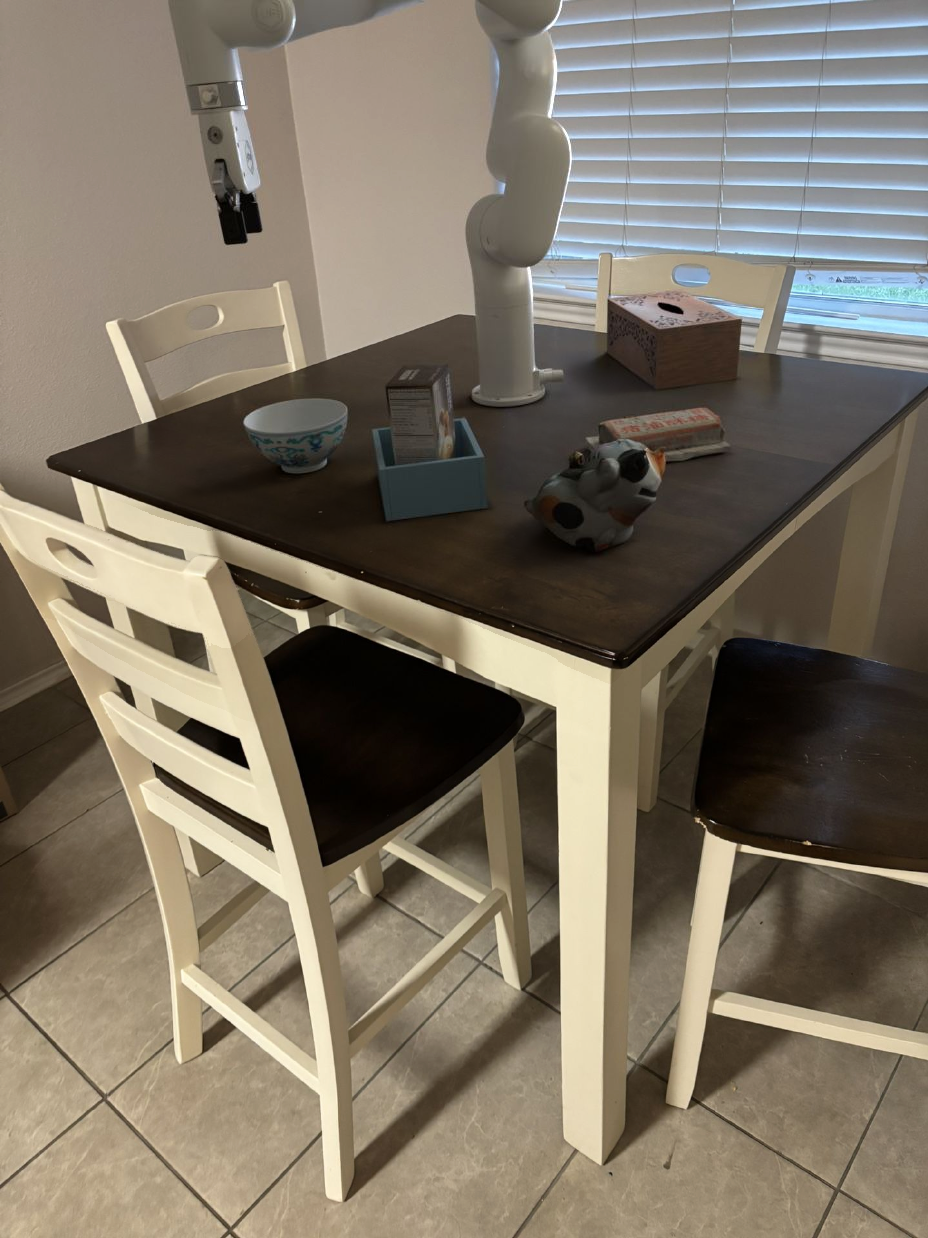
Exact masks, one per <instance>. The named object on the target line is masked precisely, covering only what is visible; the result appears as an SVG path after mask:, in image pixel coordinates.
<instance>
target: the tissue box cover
mask: <svg viewBox="0 0 928 1238" xmlns="http://www.w3.org/2000/svg"><path fill="white" fill-rule="evenodd" d="M606 300H607V301H606V303H607V304H606V305H607V307H606V308H607V309H606V312H607V313H606V314H607V316H606V317H607V318H606V331H607V332H606V353H607V354H608V355H610V356H611V357H612V358H614V359H615V360H617V361H618V362H619V363H620V364H621V365H623V366H624V367H625V368H627V369H629V371H631V372H632V373H633V374H635V376H638V377H639V378H640V379H642V380H643V381H645V382H646V383H647V384H648V385H650V386H651V388H653V389H654V390H656V391H658V390H665V389H672V388H679V387H687V386H688V387H689V386H694V385H701V384H703V385H704V384H709V383H716V382H725V381H731V380H732V381H733V380H737V379H738V373H739V372H738V369H739V361H740V360H739V358H740V348H741V347H740V346H741V334H742V324H743V318H742V317H739V316H737V315H735V314H732V313H730V312H728V311H726V310H725V309H722V308H720V307H718V306H716V305H714V304H712V303H710V302H708V301H706V300H703V299H701V298H699V297H697V296H695V295H693V294H690V293H688V292H686V291H684V290H682V289H676V290H675V289H674V290H666V291H659V292H651V293H643V294H642V293H641V294H635V295H625V296H617V297H610V298H607V299H606Z"/></svg>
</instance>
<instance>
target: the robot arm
mask: <svg viewBox="0 0 928 1238" xmlns="http://www.w3.org/2000/svg"><path fill="white" fill-rule="evenodd" d="M424 2H428V0H167V4H168V10H169V15H170V20H171V24H172V30H173V33H174V39H175V43H176V48H177V53H178V58H179V62H180V67H181V72H182V77H183V81H184V86H185V92H186V96H187V101H188V105H189V110H190V114H191V116H197V118H198V125H199V126H198V127H199V132H200V138H201V145H202V152H203V156H204V161H205V167H206V173H207V177H208V180H209V181H208V182H209V184H210V188H211V191H212V193H213V194H214V200H215V201H216V211H217V215H218V219H219V224H220V228H221V233H222V234H221V235H222V238H223V239H222V240H223V243H224V244H225V246H233V245H244V244H247V243H248V241H249V239H248V234H249V235H250V234H261V233H262V232H263V230H264V229H263V224H262V218H261V212H260V208H259V203H258V197H257V194H256V190H258V189H259V188H260V186H261V176H260V172H259V168H258V164H257V159H256V154H255V150H254V146H253V145H254V144H253V141H252V136H251V131H250V129H249V124H248V122H247V121H248V120H247V118H246V115H245V111H247V110H249V105H248V100H247V94H246V90H245V84H244V78H243V73H242V66H241V62H240V61H241V60H240V55H239V51H238V50H239V48H242V49H244V50H245V51H247V52H251V53H255V54H256V53H259V54H260V53H265V52H268V51H271V50H275V49H277V48H279V47H281V46H283V45H287V44H289V43H292V42H295V41H298V40H301V39H304V38H307V37H310V36H313V35H316V34H319V33H322V32H327V31H330V30H333V29H338V28H343V27H350V26H355V25H359V24H362V23H366V22H369V21H373V20H375V19H378V18H381V17H383V16H386V15H389V14H392V13H394V12H398V11H400V10H401V11H402V10H404V9H407V8H410V7H412V6H416V5H418V4H422V3H424ZM562 6H563V0H474V9H475V15H476V19H477V21H478V23H479V26H480V28H481V29H482V31H483V32H484V33H485V35H486V36H487V37H488V39H489V41H490V42H491V44H492V46H493V48H494V51H495V53H496V57H497V60H498V61H497V62H498V72H499V73H498V83H497V90H496V97H495V103H494V109H493V114H492V118H491V123H490V127H489V134H488V138H487V143H486V149H485V150H486V151H485V163H486V167H487V169H488V172H489V174H490V175H491V177H493V178H494V179H495V180H496V181H498V182H500V183H502V184H505V185H504V190H503V193H492V194H488V195H485V196H482V197H481V198H480V199H478V200H477V201H476V202H475V203H474V204H473V205H472V207H471V208H470V210H469V212H468V215H467V217H466V220H465V229H464V233H465V243H466V248H467V253H468V258H469V263H470V269H471V275H472V286H473V287H472V288H473V299H474V316H475V330H476V331H475V332H476V345H477V348H476V349H477V362H478V375H479V384H478V385H476V386H475V387H474V388H472V389H471V392H470V393H471V399H472V400H473V401H474V402H475V403H476V404H478V405H482V406H487V407H496V408H498V407H499V408H503V407H505V408H506V407H507V408H509V407H517V406H524V405H527V404H531V403H534V402H537V401H539V400H541V399H542V398H543V397H544V396H545V394H546V389H545V388H546V387H545V385H546V383H550V382H551V383H557V382H558V383H559V382H563V381H564V372H563V369H553V368H550V367H549V368H544V369H539V368H538V367H537V365H536V360H535V357H536V355H535V331H534V329H535V328H534V327H535V326H534V294H533V279H532V273H531V268H532V267H533V266H535V265H537V264H539V263H540V262H541V261H542V260H544V258H545V257H546V256H547V255H548V253H549V252H550V250H551V248H552V246H553V243H554V241H555V239H556V234H557V231H558V227H559V223H560V218H561V215H562V214H561V213H562V209H563V204H564V201H565V197H566V193H567V188H568V187H567V186H568V183H569V177H570V173H571V167H572V146H571V141H570V138H569V136H568V133H567V131H566V130H565V128H564V127H563V126H562V124H560V123H559V121H557V120H556V119H555V118H552V111H553V106H554V101H555V100H554V99H555V93H556V87H557V77H558V65H557V64H558V62H557V56H556V50H555V47H554V43H553V41H552V38H551V35H550V33H549V30H550V28H552V27H553V25H555V23H556V21H557V19H558V17H559V15H560V12H561V9H562Z"/></svg>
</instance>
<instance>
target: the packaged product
mask: <svg viewBox="0 0 928 1238" xmlns="http://www.w3.org/2000/svg"><path fill="white" fill-rule="evenodd" d="M597 426H598V435H596V436H588V437H585V444H586V448H587V449H588V450H589V451H590V453H591V452H592V451H593V450H595V449H597V447H599V446H600V445H602V444H605V443H610V442H613V441H617V440H618V439H628V440H632V441H634V442H639V443H642V444H643V445H645V446H646V447H647V448H648V449H649V450H651V451H652V452H654V451H655V450H657V449H658V448H660V447H666V452H665V453H664V456H665V462H683V461H687V460H689V459H692V458H696V457H697V458H698V457H703V456H708V455H716V454H721V453H728V452H730V450H731V449H732V445H731V444H729V443H728V442H727V441H726V440H724V437H725V433H726V432H725V428H724V427H723V424H722V421H721V419H720V416H719V415H717V414H716V413H714V412H713V411H712V410H710V409H709V408H707V407H695V408H687V409H679V410H674V411H665V412H659V413H652V414H643V415H637V416H630V417H629V416H628V417H622V418H616V419H610V420H605V421H601V422H600V423H598V425H597Z"/></svg>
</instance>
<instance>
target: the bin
mask: <svg viewBox="0 0 928 1238" xmlns="http://www.w3.org/2000/svg"><path fill="white" fill-rule="evenodd" d="M454 428H455V439H456V450H457V458H452V459H444V460H437V461H429V462H421V463H413V464H405V465H397V466H395V461H394V453H393V445H392V437H391V429H390V426H388V427H387V426H385V427H379V428H372V429H371V435H372V441H373V450H374V457H375V463H376V473H377V479H378V483H379V490H380V495H381V500H382V506H383V511H384V517H385V521H386V522H392V521H399V520H406V519H407V520H408V519H414V518H421V517H422V518H423V517H429V516H436V515H444V514H451V513H452V514H453V513H458V512H467V511H474V510H476V511H477V510H481V509H483V510H484V509H488V496H487V495H488V494H487V481H486V466H485V465H486V464H485V456H484V454H483V451H482V449H481V448H480V445H479V444H478V441H477V439H476V437H475V435H474V433H473V431H472V429H471V426H470V424H469V423H468V421H467V419H466V417H461V418H454Z"/></svg>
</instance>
